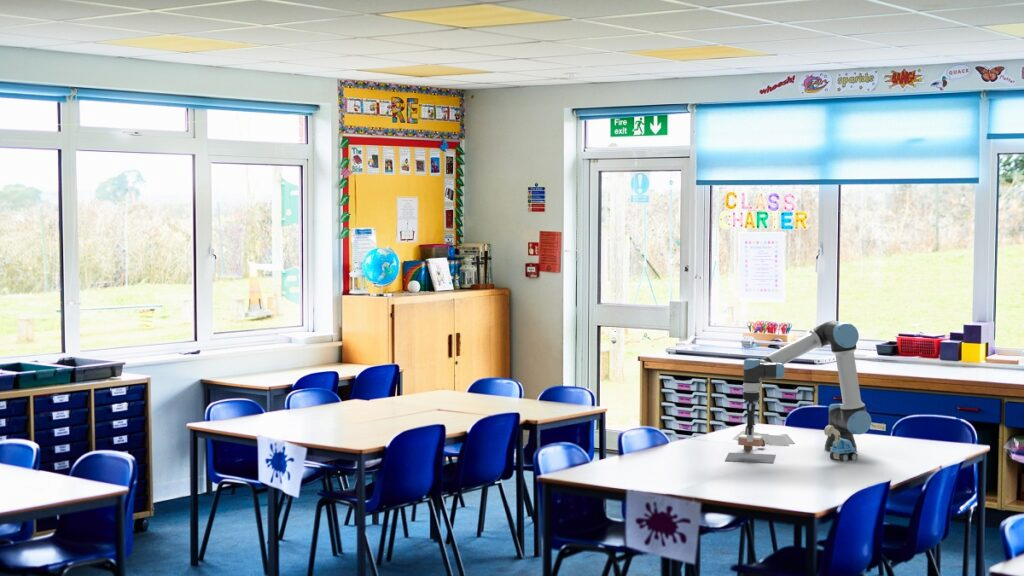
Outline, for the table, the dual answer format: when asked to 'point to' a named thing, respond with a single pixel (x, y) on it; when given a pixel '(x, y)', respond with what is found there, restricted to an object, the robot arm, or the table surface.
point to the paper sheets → (771, 437)
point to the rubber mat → (750, 458)
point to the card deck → (756, 442)
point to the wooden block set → (751, 446)
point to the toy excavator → (840, 446)
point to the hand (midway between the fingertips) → (750, 440)
